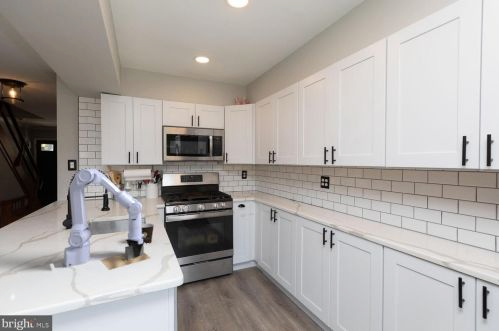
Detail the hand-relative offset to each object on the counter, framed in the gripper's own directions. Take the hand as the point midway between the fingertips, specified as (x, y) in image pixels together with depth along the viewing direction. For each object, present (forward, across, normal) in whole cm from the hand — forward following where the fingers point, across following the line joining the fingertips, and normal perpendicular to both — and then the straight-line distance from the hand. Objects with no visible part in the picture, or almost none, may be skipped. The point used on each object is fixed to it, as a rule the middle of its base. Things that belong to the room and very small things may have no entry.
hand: (135, 254), depth 114 cm
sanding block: (+1, 0, 0) cm, 1 cm away
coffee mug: (+2, +21, -12) cm, 24 cm away
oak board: (+2, 0, +4) cm, 4 cm away
